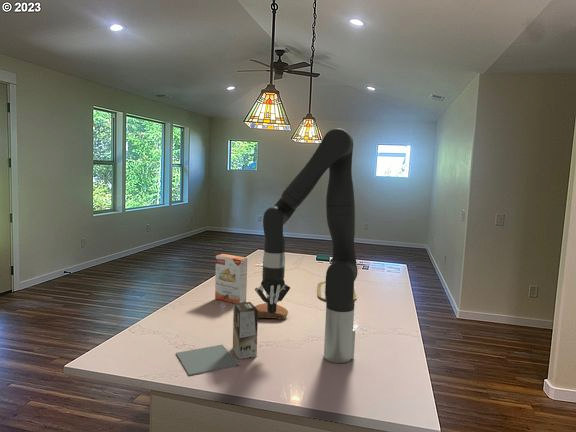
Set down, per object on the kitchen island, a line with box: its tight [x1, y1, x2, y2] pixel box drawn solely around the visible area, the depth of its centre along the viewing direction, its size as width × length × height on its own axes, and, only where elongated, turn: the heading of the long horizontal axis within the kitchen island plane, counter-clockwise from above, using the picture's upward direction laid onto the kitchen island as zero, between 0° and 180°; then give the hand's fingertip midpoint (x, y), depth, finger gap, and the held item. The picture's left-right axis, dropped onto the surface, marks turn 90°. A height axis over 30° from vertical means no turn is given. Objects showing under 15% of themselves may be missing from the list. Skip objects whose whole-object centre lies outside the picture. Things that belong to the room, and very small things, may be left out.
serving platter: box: [317, 280, 357, 302], centre depth 214 cm, size 19×35×2 cm, turn 176°
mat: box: [175, 344, 240, 377], centre depth 136 cm, size 16×16×1 cm
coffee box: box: [232, 301, 259, 360], centre depth 141 cm, size 9×6×16 cm
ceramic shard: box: [254, 302, 289, 321], centre depth 177 cm, size 15×6×15 cm
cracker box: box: [214, 253, 248, 304], centre depth 194 cm, size 14×6×21 cm, turn 62°
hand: (271, 313), depth 146 cm, fingers closed
